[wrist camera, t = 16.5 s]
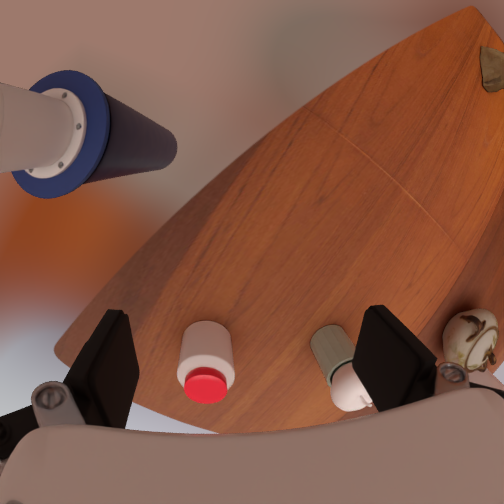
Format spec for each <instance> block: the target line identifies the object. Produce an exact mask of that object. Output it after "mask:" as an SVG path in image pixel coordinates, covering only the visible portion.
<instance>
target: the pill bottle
mask: <svg viewBox="0 0 504 504" xmlns="http://www.w3.org/2000/svg"><path fill="white" fill-rule="evenodd" d="M177 377H178V380H179V382H180V384H181V385H182V386H183V387H184V391H185V393H186V395H187V396H188V397H189V398H190V399H192V400H193V401H195V402H198V403H204V404H211V403H215V402H218V401H220V400H222V399H223V398H224V397H225V396H226V394H227V390H228V389H229V388H230V387H231V386H232V384H233V382H234V379H235V371H234V361H233V350H232V340H231V336H230V333H229V332H228V330H227V329H226V328H225V327H224V326H222V325H221V324H219V323H216V322H213V321H199V322H196V323H193V324H191V325H190V326H189V327H188V328H187V329H186V330H185V331H184V333H183V336H182V342H181V349H180V355H179V362H178V368H177Z"/></svg>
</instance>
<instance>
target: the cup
mask: <svg viewBox="0 0 504 504" xmlns="http://www.w3.org/2000/svg"><path fill="white" fill-rule="evenodd" d="M310 347H311V350H312V352H313V355H314V357H315V359H316V361H317V363H318V365H319V367H320V369H321V371H322V373H323V376H324V378H325V380H326V382H327V384H328V386H330V387H331V385H332V379H333V375H334V374H335V372H336V371H337V370H338V369H339V368H340V367H341V366H343V365H345V364H347V363H350V362H352V359H353V356H354V352H355V348H356V346H355V345H354V343H353V342H352V340H351V339H350V337H349V336H348V335H347V333H346V332H345V331H344V329H343V328H342V327H340V326H338V325H328V326H325V327H323V328H321V329H319V330H318V331H317V332H316V333H315V334H314V335H313V337H312V339H311V342H310Z"/></svg>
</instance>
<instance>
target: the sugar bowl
mask: <svg viewBox="0 0 504 504" xmlns="http://www.w3.org/2000/svg"><path fill="white" fill-rule="evenodd" d="M498 336H499V330H498V324H497V320H496V318H495V316H494V315H493V314H492V313H491V312H490V311H489V310H486V309H473V310H469V311H466V312H460V313H458V314H456V315H455V316H454V317H453V318H452V319H451V320H450V321H449V322H448V324H447V325H446V327H445V329H444V332H443V349H444V358H445V362H454V363H457V364H459V365H461V366H462V367H463V368H465V369H466V371H467V372H468V373H472V372H474V371H477V370H478V371H480V372H485V371H486V366H487V359H488V358H489V361H490V363H491V365H494V364H495V363H496V358H495V355H494V354H493V350H494V348H495V346H496V343H497V340H498ZM483 364H484V365H483ZM482 365H483V367H482Z"/></svg>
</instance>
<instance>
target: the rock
mask: <svg viewBox="0 0 504 504" xmlns="http://www.w3.org/2000/svg"><path fill="white" fill-rule="evenodd" d="M480 61H481V68H482V75H483V86H484V88H485V89H486V90H487V91H488V92H497V91H499V90H501V89H504V53H503V52H500V51H498V50H496V49H493V48H489V47H483V46H481V54H480Z"/></svg>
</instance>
